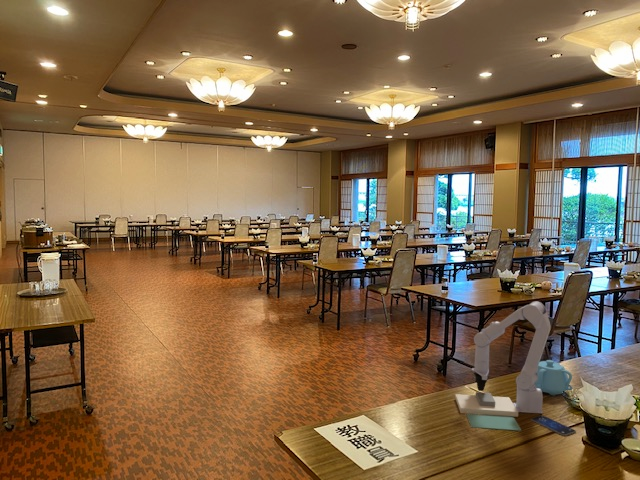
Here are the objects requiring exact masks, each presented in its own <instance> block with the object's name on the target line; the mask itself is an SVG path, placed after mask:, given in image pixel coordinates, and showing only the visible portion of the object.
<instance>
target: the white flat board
mask: <svg viewBox="0 0 640 480" xmlns="http://www.w3.org/2000/svg"><path fill="white" fill-rule="evenodd" d="M492 397H493V398H494V400H495V407H491V406H480V405H479V403H478V401H477V399H476V394H459V393H457V394H456V393H455V398H454V399H455V401H456V404H457V407H458V410H459V412H460V414H478V415H493V416H508V417H514V418H515V417H517V418H519V412H518V411H517V409H516V407H515V406H514V404H513V403H514V402H513V401H512V400H511V398H510V397H508V396H493V395H492Z"/></svg>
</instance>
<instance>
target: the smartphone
mask: <svg viewBox="0 0 640 480" xmlns="http://www.w3.org/2000/svg"><path fill="white" fill-rule="evenodd" d="M530 422H533V423H535V422H536V423H535V424H537V425H539V424H540V425H539V426H541V427H543V428H545V429H547V428H548V430H549V431H551V432H553V433H555V434H558V435H560V436H561V437H569V436H571V435H575V434H576V433H577V431H576V429H573V428H571V427H569V426H567V425H565V424H562V423H561V422H558V421H557V420H554V419H552V418H549V417H547V416H545V415H543V414H542V415H538V416H534V417H531V418H530Z"/></svg>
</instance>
